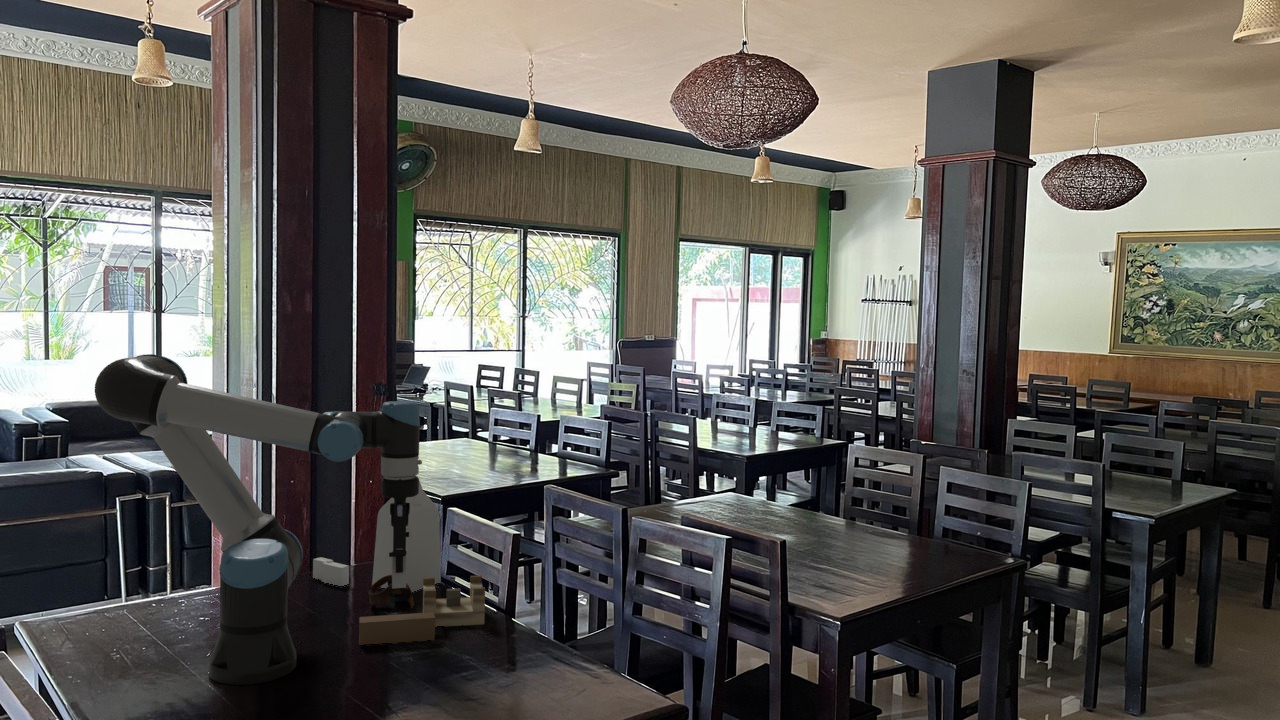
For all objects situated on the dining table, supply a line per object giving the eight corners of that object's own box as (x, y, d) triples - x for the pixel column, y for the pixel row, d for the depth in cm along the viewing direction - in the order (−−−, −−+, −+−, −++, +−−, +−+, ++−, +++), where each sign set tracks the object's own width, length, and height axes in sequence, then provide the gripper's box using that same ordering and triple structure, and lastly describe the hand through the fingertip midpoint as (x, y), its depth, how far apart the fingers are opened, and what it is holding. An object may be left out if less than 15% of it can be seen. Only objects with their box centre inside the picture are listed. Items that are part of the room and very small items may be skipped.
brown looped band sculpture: (415, 614, 206) (397, 586, 204) (377, 631, 206) (359, 603, 204) (421, 585, 218) (405, 558, 215) (385, 601, 218) (369, 574, 215)
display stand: (484, 624, 200) (485, 588, 199) (423, 627, 196) (424, 591, 196) (480, 609, 209) (481, 575, 209) (422, 612, 206) (423, 577, 206)
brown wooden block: (434, 641, 189) (435, 617, 189) (359, 647, 185) (359, 622, 184) (433, 635, 193) (433, 611, 192) (359, 640, 188) (359, 616, 188)
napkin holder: (357, 589, 223) (357, 566, 222) (308, 593, 218) (308, 570, 218) (352, 572, 237) (353, 551, 236) (306, 576, 232) (306, 554, 232)
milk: (407, 575, 234) (409, 475, 233) (440, 583, 229) (443, 480, 227) (371, 586, 224) (373, 481, 223) (405, 594, 218) (407, 487, 217)
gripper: (419, 487, 176) (418, 595, 177) (418, 465, 200) (417, 560, 202) (379, 488, 174) (378, 597, 176) (382, 466, 199) (382, 562, 200)
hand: (399, 577), depth 189 cm, fingers open, 13 cm apart
